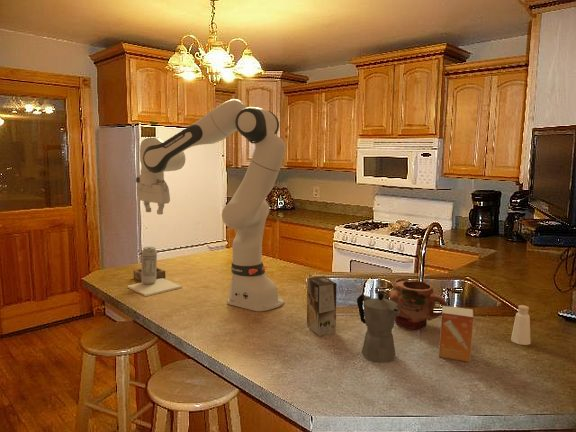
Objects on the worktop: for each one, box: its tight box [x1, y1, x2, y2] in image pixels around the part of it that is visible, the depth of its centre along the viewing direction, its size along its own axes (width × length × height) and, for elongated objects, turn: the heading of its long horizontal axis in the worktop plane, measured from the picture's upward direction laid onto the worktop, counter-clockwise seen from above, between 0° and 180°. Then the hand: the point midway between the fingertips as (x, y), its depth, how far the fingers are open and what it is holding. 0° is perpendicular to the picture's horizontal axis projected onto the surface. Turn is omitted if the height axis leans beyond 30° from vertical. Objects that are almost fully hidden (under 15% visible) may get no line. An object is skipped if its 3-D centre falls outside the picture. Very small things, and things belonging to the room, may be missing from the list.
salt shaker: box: [510, 304, 531, 346], centre depth 130 cm, size 5×5×11 cm
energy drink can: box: [140, 246, 158, 285], centre depth 183 cm, size 6×6×15 cm
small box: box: [438, 305, 474, 363], centre depth 121 cm, size 8×6×13 cm
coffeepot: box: [356, 292, 400, 363], centre depth 121 cm, size 15×9×18 cm, turn 35°
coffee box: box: [306, 275, 337, 337], centre depth 138 cm, size 9×6×16 cm
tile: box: [127, 278, 183, 297], centre depth 181 cm, size 16×16×1 cm
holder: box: [132, 267, 167, 283], centre depth 194 cm, size 10×10×4 cm
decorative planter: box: [388, 280, 449, 331], centre depth 141 cm, size 20×12×14 cm, turn 52°
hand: (154, 213), depth 177 cm, fingers open, 8 cm apart
